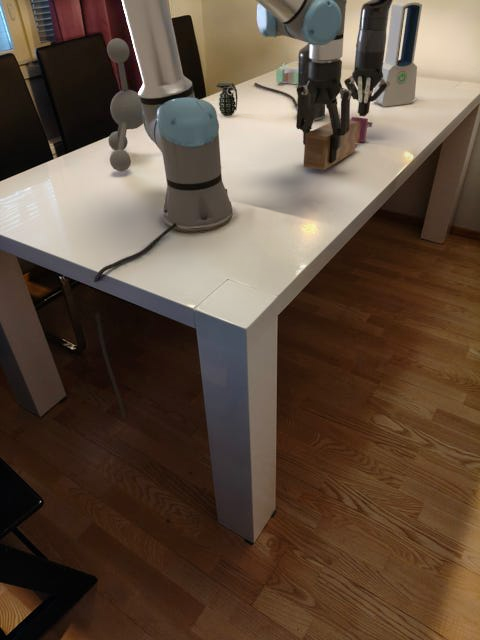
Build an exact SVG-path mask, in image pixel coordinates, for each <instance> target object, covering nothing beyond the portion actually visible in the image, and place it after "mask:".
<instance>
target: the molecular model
mask: <svg viewBox="0 0 480 640" xmlns="http://www.w3.org/2000/svg"><path fill="white" fill-rule="evenodd" d="M106 52H107V55H108V57H109V59H110V60H111V61H112V62H114V63H115V64H117V68H118V73H119V79H120V85H121V89H122V90H120V91H118V92H117V93H116V94H115V95H114V96H113V97H112V99H111V102H110V115H111V117H112V119H113V120H114V122H115V123H116V124H117V125H118V127H117V131H113V132H111V133H110V134H109V136H108V138H107V139H108V145H109V147H110V148H111V149H112V150H113V152H111V154H110V156H109V163H110V166H111V167H112V169H114V170H115V171H117V172H126V171H128V169H129V168H130V167H131V164H132V158H131V156H130V154H129V153H128V152H127V151H126V148H127V147H128V137H127V130H134V129H138V128H140V127H141V126H143V125H144V124H143V109H142V105H141V101H140V98H139V92H137V91H134V90H132V89H129V86H128V81H127V73H126V69H125V62H126V61H127V60H128V59H129V56H130V48H129V45H128V43H127V42H126V41H125V40H124V39H122V38H119V37H118V38H117V37H115V38H112V39H111V40H109V42H108V44H107V46H106Z"/></svg>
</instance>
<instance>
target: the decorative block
mask: <svg viewBox="0 0 480 640" xmlns="http://www.w3.org/2000/svg"><path fill="white" fill-rule="evenodd" d="M298 62H299V60H298V59H297V60H295V61H292V62H289V63H287V62H282V64H281V66H278V68H277V69H276V70H275V71H276V73H275V74H276V75H275V76H276V77H275V78H276V83H282V84H291V85H292V84H293V85H298Z"/></svg>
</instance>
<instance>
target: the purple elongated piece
mask: <svg viewBox="0 0 480 640" xmlns="http://www.w3.org/2000/svg"><path fill="white" fill-rule="evenodd" d="M350 120H352V121H358V128H357V136H356V144H357V143H360V142H361V143H364V142H366V138H367V130H368V128H372V127H373V125H374V124H373V122H371V121H369V118H367V117H360V116H359V117H358V116H351V117H350Z"/></svg>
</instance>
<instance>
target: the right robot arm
mask: <svg viewBox="0 0 480 640" xmlns="http://www.w3.org/2000/svg"><path fill="white" fill-rule="evenodd" d="M392 4H393V0H368V1H366V2H364V3H363V4H362V5H361V10H360V15H359V16H360V17H359V25H358V26H359V27H358V28H359V29H358V34H357V38H356V44H355V55H354V69H353V70H352V73H351V76H349V77H348V78H346V79H344V81H343V83H344V84H345V86H346V89H347V90H349V89H351V90H352V91H353V93H352V96H351V98H352V99H353V100H356V101H358V106H357V114H359V115H358V116H359V117H362V118H366V116H367V115H368V114H369V113H370V106H371V103H373V102H375V100H376V99H377V98H378V97H379V96H380V95H381V94H382V93H383V91H384V90H385V89H386V88H387V87H388V86H389V85H390V83H389V82H388V81H387V82H386V81H385V80H384V78H383V73H382V67H383V63H384V61H385V60H384V59H385V54H386V46H387V29H388V23H389V22H388V21H389V15H390V14H389V13H390V9H391V7H392ZM297 60H299V62H298V84H297V88H298V87H300V86H302V85H307V84H308V81H309V77H308V74H309V62H310V61H311V59H310V58H309V43H307V44H306V45H304V46H303V47H302V48H301V49H300V50H299V51H298V59H297ZM379 82H380V84H379V89H378V90H377V91H376V92H375V93H374V89H375V87H376V85H377V84H378V83H379ZM355 84H356V85H355ZM253 85H254V86H256V87H258V88H260V89H263V90H267V91H268V92H272V93H276V94H280V95H282V96H285V97H286V98H287V97H288V98H289V99H290V100H291V101H292V103H293V105H294V107H295V109H296V112H297V108H298V98H296V99H297V101H296V99H295V98H294V96H292V95H291V94H289V93H287V92H285V91H281V90H279V89H276V88H271V87H268V86H265V85H261V84H259V83H257V82H254V83H253ZM373 93H374V94H373ZM311 97H312V96H311V95H310V93H309V91H308V93H307V105H306V117H307V113H308V110H309V107H310V105H309V104H310V101H311ZM306 117H305V120H306ZM324 118H326V104H323V103H320V104H319V105H318V108H317V111H316V115H315V118H314V121H320V120H323V119H324Z"/></svg>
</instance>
